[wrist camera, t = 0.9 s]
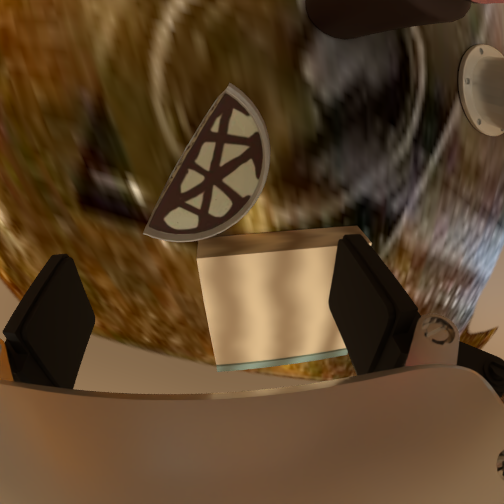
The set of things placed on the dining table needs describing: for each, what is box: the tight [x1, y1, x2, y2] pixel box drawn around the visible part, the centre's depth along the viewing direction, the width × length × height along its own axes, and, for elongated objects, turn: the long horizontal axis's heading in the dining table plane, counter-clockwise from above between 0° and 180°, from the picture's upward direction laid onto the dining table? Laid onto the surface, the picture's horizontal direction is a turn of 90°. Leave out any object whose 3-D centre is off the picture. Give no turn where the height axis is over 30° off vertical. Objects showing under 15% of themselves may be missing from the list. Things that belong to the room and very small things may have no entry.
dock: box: [197, 226, 371, 372], centre depth 36 cm, size 18×18×4 cm
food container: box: [143, 83, 270, 242], centre depth 24 cm, size 12×6×10 cm, turn 146°
